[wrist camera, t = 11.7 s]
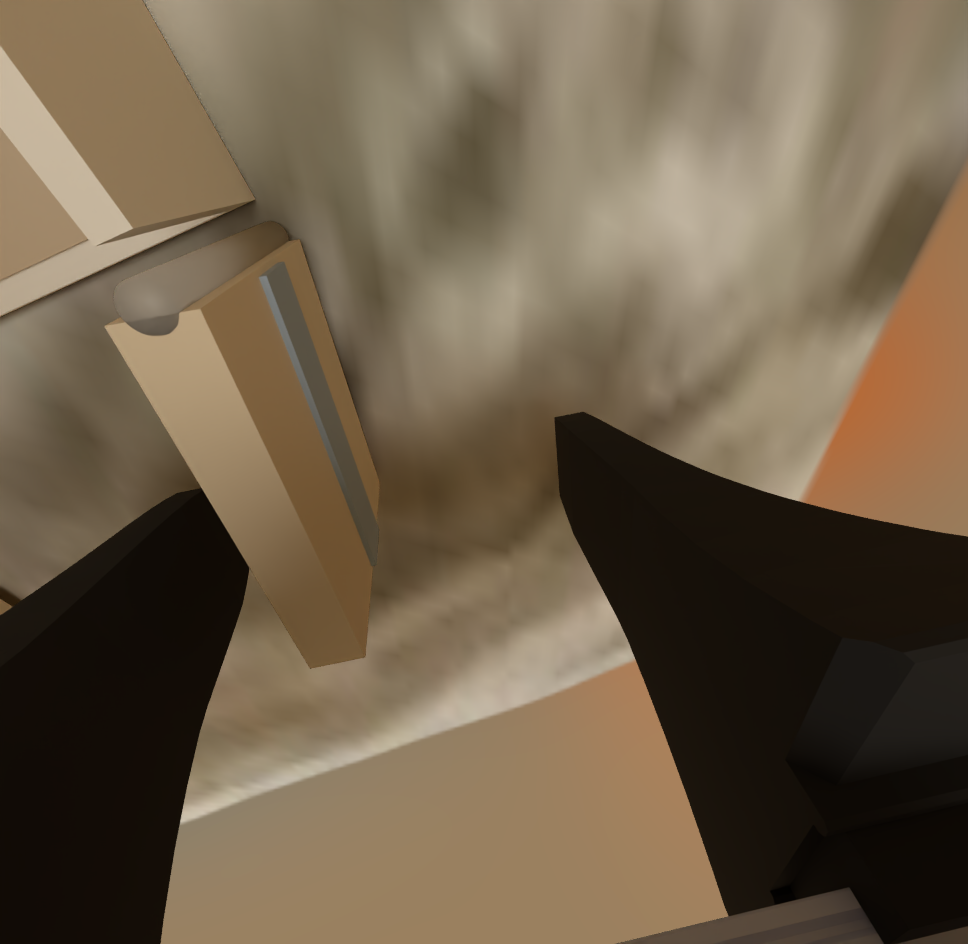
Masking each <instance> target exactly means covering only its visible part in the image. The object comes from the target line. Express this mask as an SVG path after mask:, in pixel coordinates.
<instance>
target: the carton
mask: <svg viewBox="0 0 968 944" xmlns="http://www.w3.org/2000/svg"><path fill="white" fill-rule="evenodd" d="M253 200H256V199H255V198H254V196H253V194H252V192H251V191H250V189H249V187H248V185H247V184H246V182H245V180H244V178H243V177H242V175H241V173H240V171H239V170H238V168H237V166H236V164H235V163H234V161H233V159H232V157H231V156H230V154H229V152H228V150H227V148H226V147H225V145H224V143H223V141H222V140H221V138H220V136H219V134H218V133H217V131H216V129H215V127H214V126H213V124H212V122H211V120H210V119H209V117H208V115H207V113H206V112H205V110H204V108H203V106H202V105H201V103H200V101H199V99H198V97H197V96H196V94H195V92H194V90H193V89H192V87H191V85H190V83H189V82H188V80H187V78H186V76H185V75H184V73H183V71H182V69H181V68H180V66H179V64H178V62H177V61H176V59H175V57H174V55H173V54H172V52H171V50H170V48H169V47H168V45H167V43H166V41H165V39H164V38H163V36H162V34H161V32H160V31H159V29H158V27H157V25H156V24H155V22H154V20H153V18H152V17H151V15H150V13H149V11H148V10H147V8H146V6H145V4H144V3H143V1H142V0H0V317H1V316H3V315H6V314H8V313H10V312H12V311H14V310H16V309H19V308H21V307H23V306H25V305H27V304H29V303H32V302H34V301H36V300H38V299H40V298H42V297H45V296H47V295H49V294H51V293H53V292H56V291H58V290H60V289H62V288H64V287H66V286H69V285H71V284H73V283H75V282H77V281H79V280H82V279H84V278H86V277H88V276H90V275H92V274H95V273H97V272H99V271H101V270H103V269H106V268H108V267H110V266H112V265H114V264H116V263H119V262H121V261H123V260H125V259H127V258H129V257H132V256H134V255H136V254H138V253H140V252H143V251H145V250H147V249H149V248H151V247H153V246H156V245H158V244H160V243H162V242H164V241H166V240H169V239H171V238H173V237H175V236H177V235H179V234H182V233H184V232H186V231H188V230H190V229H193V228H195V227H197V226H199V225H201V224H203V223H206V222H208V221H210V220H212V219H214V218H216V217H219V216H221V215H223V214H225V213H227V212H229V211H232V210H234V209H236V208H238V207H240V206H243V205H245V204H247V203H249V202H251V201H253Z"/></svg>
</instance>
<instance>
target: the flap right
mask: <svg viewBox="0 0 968 944" xmlns="http://www.w3.org/2000/svg"><path fill="white" fill-rule="evenodd" d="M113 298H114V305H115V308H116V310H117V312H118V314H119V315H120V318H118V319H116V320H115V321H113V322H111V323H109V324H107V325H105V328H106V330H107V331H108V333H109V335H110V336H111V338H112V340H113V341H114V343H115V345H116V346H117V348H118V350H119V351H120V353H121V355H122V356H123V358H124V360H125V361H126V363H127V365H128V366H129V368H130V370H131V371H132V373H133V375H134V376H135V378H136V380H137V381H138V383H139V385H140V386H141V388H142V390H143V391H144V393H145V395H146V396H147V398H148V400H149V401H150V403H151V405H152V406H153V408H154V410H155V411H156V413H157V415H158V416H159V418H160V420H161V421H162V423H163V425H164V426H165V428H166V430H167V431H168V433H169V435H170V436H171V438H172V440H173V441H174V443H175V445H176V446H177V448H178V450H179V451H180V453H181V455H182V456H183V458H184V460H185V461H186V463H187V465H188V466H189V468H190V470H191V471H192V473H193V475H194V476H195V478H196V479H197V481H198V483H199V484H200V486H201V488H202V489H203V491H204V493H205V494H206V496H207V498H208V499H209V501H210V503H211V504H212V506H213V508H214V509H215V511H216V513H217V514H218V516H219V518H220V519H221V521H222V523H223V524H224V526H225V528H226V529H227V531H228V533H229V534H230V536H231V538H232V539H233V541H234V543H235V544H236V546H237V548H238V549H239V551H240V553H241V554H242V556H243V558H244V559H245V561H246V563H247V564H248V566H249V568H250V569H251V571H252V573H253V574H254V576H255V578H256V579H257V581H258V583H259V584H260V586H261V588H262V589H263V591H264V593H265V594H266V596H267V598H268V599H269V601H270V603H271V604H272V606H273V608H274V609H275V611H276V613H277V614H278V616H279V618H280V619H281V621H282V623H283V624H284V626H285V628H286V629H287V631H288V633H289V634H290V636H291V638H292V639H293V641H294V643H295V644H296V646H297V648H298V649H299V651H300V653H301V654H302V656H303V658H304V659H305V661H306V663H307V664H308V666H309V668H310V669H311V668H316V667H321V666H325V665H330V664H335V663H340V662H345V661H350V660H354V659H359V658H364V657H365V655H366V644H367V632H368V620H369V608H370V596H371V585H372V573H373V566H375V565H377V552H378V539H379V527H378V525H377V514H378V502H379V490H380V482H379V479H378V476H377V473H376V470H375V467H374V464H373V461H372V458H371V455H370V452H369V449H368V446H367V443H366V440H365V437H364V434H363V431H362V428H361V425H360V422H359V419H358V416H357V413H356V410H355V406H354V403H353V400H352V397H351V394H350V391H349V388H348V385H347V382H346V379H345V376H344V373H343V370H342V367H341V364H340V361H339V358H338V355H337V352H336V349H335V346H334V343H333V340H332V337H331V334H330V331H329V327H328V324H327V321H326V318H325V315H324V312H323V309H322V306H321V303H320V300H319V297H318V294H317V291H316V288H315V285H314V282H313V279H312V276H311V273H310V270H309V267H308V264H307V261H306V258H305V255H304V252H303V249H302V245H301V242H300V239H298V240H292V241H289V238H288V235H287V233H286V231H285V229H284V228H283V227H282V226H281V225H279V224H278V223H276V222H272V221H267V222H264V223H261V224H259V225H256V226H254V227H251V228H249V229H247V230H244V231H242V232H239V233H237V234H234V235H232V236H229V237H227V238H225V239H222V240H220V241H217V242H215V243H212V244H210V245H207V246H205V247H203V248H200V249H198V250H195V251H193V252H190V253H188V254H186V255H183V256H181V257H178V258H176V259H173V260H171V261H168V262H166V263H164V264H161V265H159V266H156V267H154V268H151V269H149V270H146V271H144V272H142V273H139V274H137V275H134V276H132V277H129V278H127V279H125V280H123V281H121V282H120V283H119V284H118V285H117V287H116V288H115V291H114V297H113Z"/></svg>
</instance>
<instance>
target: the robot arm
mask: <svg viewBox="0 0 968 944" xmlns="http://www.w3.org/2000/svg"><path fill="white" fill-rule="evenodd" d="M555 433H556V447H557V462H558V477H559V491H560V498H561V500H562V503H563V506H564V509H565V512H566V515H567V517H568V520H569V523H570V525H571V528H572V531H573V533H574V535H575V537H576V539H577V541H578V543H579V545H580V547H581V549H582V551H583V553H584V555H585V557H586V559H587V561H588V563H589V565H590V567H591V568H592V570H593V572H594V574H595V576H596V578H597V580H598V582H599V584H600V586H601V587H602V589H603V591H604V593H605V595H606V597H607V599H608V601H609V603H610V605H611V607H612V608H613V610H614V612H615V614H616V616H617V618H618V620H619V622H620V624H621V626H622V629H623V631H624V633H625V635H626V637H627V639H628V642H629V644H630V647H631V649H632V652H633V654H634V657H635V659H636V662H637V664H638V667H639V669H640V672H641V674H642V677H643V679H644V681H645V684H646V687H647V689H648V692H649V695H650V697H651V700H652V703H653V705H654V708H655V710H656V713H657V715H658V718H659V721H660V723H661V726H662V729H663V731H664V734H665V736H666V739H667V742H668V745H669V747H670V750H671V753H672V756H673V758H674V761H675V764H676V767H677V770H678V772H679V775H680V778H681V781H682V783H683V786H684V789H685V791H686V794H687V797H688V800H689V802H690V806H691V809H692V812H693V815H694V817H695V820H696V823H697V826H698V829H699V832H700V835H701V838H702V841H703V844H704V846H705V849H706V852H707V855H708V858H709V861H710V864H711V867H712V870H713V872H714V876H715V879H716V882H717V885H718V888H719V891H720V894H721V897H722V900H723V903H724V906H725V908H726V911H727V913H728V917H724V918H720V919H716V920H712V921H708V922H704V923H699V924H695V925H691V926H687V927H683V928H679V929H675V930H671V931H667V932H662V933H659V934H654V935H650V936H646V937H642V938H637V939H633V940H629V941H625V942H621V943H617V944H968V537H966V536H960V535H954V534H946V533H941V532H935V531H929V530H923V529H919V528H914V527H909V526H904V525H898V524H893V523H888V522H883V521H878V520H873V519H868V518H864V517H859V516H855V515H851V514H846V513H841V512H837V511H833V510H829V509H825V508H821V507H818V506H814V505H810V504H806V503H803V502H799V501H795V500H791V499H788V498H784V497H781V496H777V495H774V494H771V493H767V492H764V491H761V490H758V489H755V488H752V487H749V486H746V485H743V484H740V483H737V482H734V481H732V480H729V479H726V478H723V477H720V476H718V475H715V474H712V473H710V472H707V471H705V470H702V469H700V468H698V467H695V466H693V465H691V464H688V463H686V462H684V461H681V460H679V459H677V458H674V457H672V456H670V455H668V454H666V453H664V452H661V451H659V450H657V449H655V448H653V447H651V446H649V445H647V444H645V443H643V442H641V441H639V440H637V439H635V438H633V437H631V436H629V435H627V434H626V433H624V432H622V431H620V430H618V429H616V428H614V427H612V426H611V425H609V424H607V423H605V422H603V421H601V420H599V419H597V418H595V417H593V416H591V415H589V414H587V413H585V412H580V413H575V414H570V415H565V416H560V417H555ZM248 573H249V566H248V564H247V563H246V561H245V559H244V558H243V556H242V554H241V553H240V551H239V549H238V548H237V546H236V544H235V543H234V541H233V539H232V538H231V536H230V534H229V533H228V531H227V529H226V528H225V526H224V524H223V523H222V521H221V519H220V518H219V516H218V514H217V513H216V511H215V509H214V508H213V506H212V504H211V503H210V501H209V499H208V498H207V496H206V494H205V493H204V491H203V489H202V488H200V489H195V490H190V491H185V492H180V493H176V494H175V495H173V496H171V497H169V498H167V499H166V500H164V501H162V502H161V503H159V504H158V505H156V506H155V507H153V508H152V509H150V510H149V511H147V512H146V513H144V514H143V515H141V516H140V517H139V518H137V519H136V520H134V521H133V522H131V523H130V524H129V525H127V526H126V527H125V528H123V529H122V530H120V531H119V532H118V533H116V534H115V535H114V536H112V537H111V538H109V539H108V540H107V541H105V542H104V543H103V544H101V545H100V546H98V547H97V548H96V549H94V550H93V551H92V552H90V553H89V554H87V555H86V556H85V557H83V558H82V559H81V560H79V561H78V562H77V563H75V564H74V565H72V566H71V567H69V568H68V569H67V570H65V571H64V572H62V573H61V574H59V575H58V576H57V577H55V578H54V579H52V580H51V581H49V582H48V583H46V584H45V585H44V586H42V587H41V588H39V589H38V590H36V591H35V592H33V593H32V594H31V595H29V596H28V597H26V598H25V599H23V600H22V601H20V602H19V603H18V604H16V605H15V606H13V607H12V608H10V609H9V610H7V611H6V612H4V613H3V614H1V615H0V944H160V943H161V935H162V927H163V919H164V913H165V907H166V900H167V894H168V888H169V881H170V875H171V869H172V863H173V856H174V850H175V845H176V839H177V835H178V830H179V825H180V819H181V814H182V809H183V804H184V799H185V794H186V789H187V784H188V780H189V776H190V772H191V767H192V763H193V759H194V754H195V750H196V746H197V741H198V737H199V733H200V730H201V726H202V723H203V720H204V716H205V713H206V710H207V706H208V704H209V701H210V698H211V695H212V692H213V689H214V686H215V684H216V681H217V678H218V675H219V672H220V669H221V666H222V663H223V661H224V658H225V655H226V652H227V649H228V646H229V643H230V641H231V638H232V635H233V632H234V629H235V626H236V623H237V620H238V617H239V614H240V611H241V607H242V604H243V600H244V595H245V590H246V585H247V580H248Z"/></svg>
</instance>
